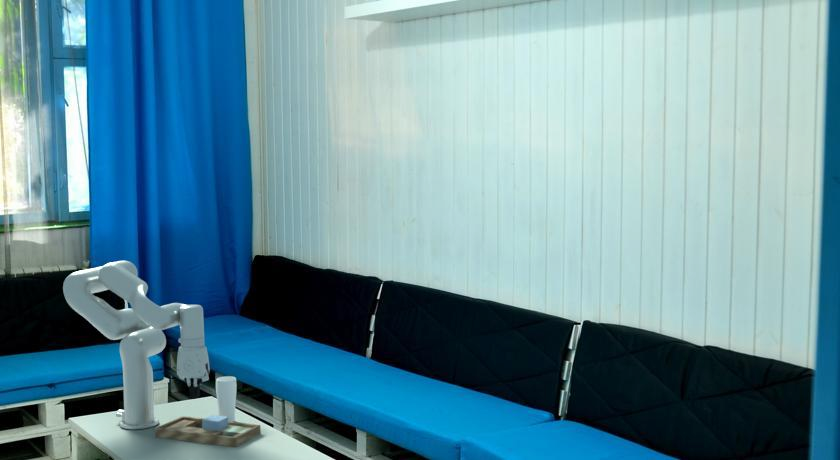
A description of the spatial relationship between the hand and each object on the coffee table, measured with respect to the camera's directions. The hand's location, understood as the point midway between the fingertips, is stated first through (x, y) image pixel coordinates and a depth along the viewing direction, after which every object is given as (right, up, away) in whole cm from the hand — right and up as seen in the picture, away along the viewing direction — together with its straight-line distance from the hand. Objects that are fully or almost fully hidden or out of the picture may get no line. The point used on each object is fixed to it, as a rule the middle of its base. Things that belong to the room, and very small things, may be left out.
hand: (194, 397), depth 307 cm
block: (+7, -9, -3) cm, 12 cm away
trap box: (+5, -11, -4) cm, 13 cm away
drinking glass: (+8, -10, +10) cm, 17 cm away
